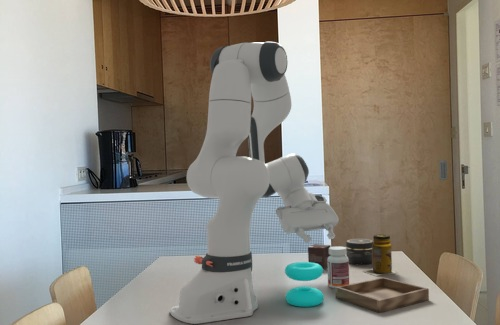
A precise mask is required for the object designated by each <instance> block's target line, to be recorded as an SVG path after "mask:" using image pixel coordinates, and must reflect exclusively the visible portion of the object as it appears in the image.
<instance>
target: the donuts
mask: <svg viewBox="0 0 500 325" xmlns="http://www.w3.org/2000/svg"><path fill="white" fill-rule="evenodd" d="M284 273H285V275H286V276H287V277H288V278H289V279H291V280H292V281H293V280H294V281H298V282H310V281H314V280H315V281H316V280H318V279H319V278H320V277H321V276H323V274H324V269H323V268H322V266H321V265H319V264H317V263H312V262H308V261H300V262H299V261H298V262H291V263H289V264H288V265H286V267H285V268H284ZM324 297H325V296H324V293H323V292H322V291H321V290H320V289H318V288H316V287H312V286H296V287H292V288H290V289H289V290H288V291H287V292H286V295H285V300H286V302H287V304H289V305H291V306H296V307H300V308H308V307H309V308H311V307H316V306H319V305H320V304H322V303H323V301H324Z"/></svg>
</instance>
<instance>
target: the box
mask: <svg viewBox="0 0 500 325" xmlns="http://www.w3.org/2000/svg"><path fill="white" fill-rule="evenodd" d="M329 247H332V246H331V244H320V243H319V244H318V243H316V244H312V245H310V246H308V247H307V258H308V260H307V262H312V263H317V264H319V265H321V266H322V268H323V270H326V269H328V263H327V259H328V257H329V256H331V255H330V254H329Z"/></svg>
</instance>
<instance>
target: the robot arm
mask: <svg viewBox="0 0 500 325" xmlns="http://www.w3.org/2000/svg"><path fill="white" fill-rule="evenodd" d="M209 67H210V68H209V69H210V73H211V74H212V77H211V79H210V86H209V87H210V88H209V93H208V111H207V112H208V113H207V126H206V132H205V136H204V141H203V143H202V146H201V149H200V151H199V153H198V156H197V157H196V159H195V160H194V161H193V162H192V163H191V164H190V165H189V166H188V169H187V172H186V183H187V186H188V188H189V189H190V190H191V192H192V193H194V194H196V195H199V196H201V197H203V198H205V199H206V198H207V199H216V200H217V199H218V200H219V202H218V207H217V210H216V212H215V215H214V216H213V217H211V218H210V219H209V221H207V225H206V243H207V244H206V245H207V246H206V247H207V253H206V254H205V255H204V256H200V255H195V257H193V261H194V263H195V264H198V265H201V269H200V270H199V271H198V272H197V273H196V274H195V275H194V276H193V277H192V278H191V279H189V281H187V282H186V283H185V284H184V285H182V287H181V290H180V293H179V299H178V300H179V301H178V304H177V305H174V306H171V307H170V312H169V313H170V315H171V316H172V317H173V318H175V319H177V320H178V321H180V322H183V323H187V324H192V325H193V324H194V325H197V324H204V323H211V322H218V321H224V320H230V319H238V318H247V317H250V316H252V315H253V314H254V311H256V310H257V309H258V308H259V304H258V301H257V298H256V294H255V289H254V283H253V274H252V272H253V253H252V250H251V222H252V217H253V213H254V210H255V207H256V206H257V203H258V202H259V200H260V199H261V198H269V197H271V196H273V195H275V194H276V193H277V195H278V197H280V198H281V199H282V203H283V205H284V206H279V207H277V209H275V214H276V216H277V218H278V220H279V224H280V226H281V228H282V230H283V232H284V233H285V234H287V235H289V234H290V235H292V234H296V235H297V237H299V238H301V239H302V240H303V241H304V243H305V244H308V243H311V241H312V237H311V236H310V234H307V233H306V232H311V231H319V230H325V231H326V232H327V234H326V236H327V237H328V239H329V240H332V239H333V240H334V239H335V238H336V233H334V228H335V227H336V226H337V225H338V224H339V220H340V219H339V216H338V215H337V213H336V211H335V210H334V208H333V207H332V206H331V205H330V204H329V203H327V198H326V197H325V196H323V195H318V194H314V193H312V192H309V191H308V189H306V187H305V184H306V182H307V179H308V176H309V173H310V172H309V167H308V165H307V162H306V161H305V160H304V158H303V157H302V156H301V155H299V154H297V153H289V154H286V155H283V156H281V157H279V158H277V159H274V160H271V161H269V162H267V163H265V162H266V161H265V160H266V159H265V149H264V148H265V147H264V144H265V140H266V139H267V137H268V135H269V134H271V132H272V131H273V130H275V129H276V128H277V127H279V125H281V124H282V123H283V122H284V121H285V120H286V119H287V117H288V116H289V114H290V112H291V110H292V96H291V92H290V89H289V88H290V87H289V85H288V81H287V77H286V72H287V69H288V55H287V52H286V50H285V48H284V47H283V46H282V45H281V44H280V43H278V42H276V41H265V42H241V43H235V44H231V45H223V46H220V47H218V48H217V49H214V51H213V53H212V55H211V57H210V60H209ZM252 100H253V110H252ZM246 139H247V145H248V156H237V152H238V150H239V147H240V146H241V144H242V143H243V142H244V141H246Z"/></svg>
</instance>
